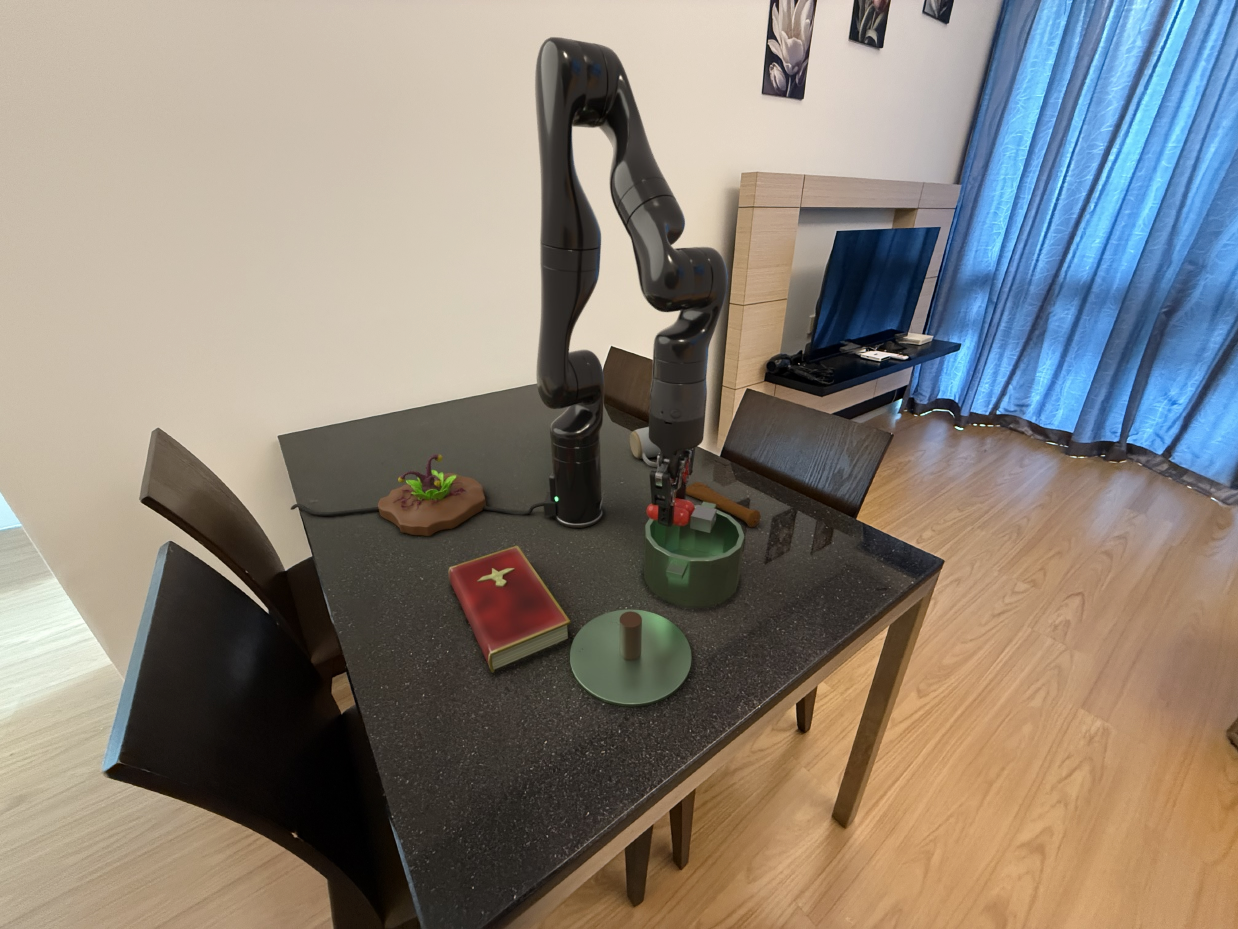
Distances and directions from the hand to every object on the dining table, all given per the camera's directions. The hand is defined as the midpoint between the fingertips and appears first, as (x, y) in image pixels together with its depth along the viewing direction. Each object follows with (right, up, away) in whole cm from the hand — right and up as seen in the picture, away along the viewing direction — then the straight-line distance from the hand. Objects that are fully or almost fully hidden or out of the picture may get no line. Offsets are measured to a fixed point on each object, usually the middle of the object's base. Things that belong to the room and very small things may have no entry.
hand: (671, 514), depth 78 cm
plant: (-46, -1, +31) cm, 55 cm away
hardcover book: (-25, -16, +3) cm, 30 cm away
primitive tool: (+13, -1, +30) cm, 33 cm away
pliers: (+1, -1, 0) cm, 1 cm away
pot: (+4, -12, +10) cm, 16 cm away
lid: (-6, -19, -5) cm, 21 cm away
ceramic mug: (0, +9, +50) cm, 51 cm away
